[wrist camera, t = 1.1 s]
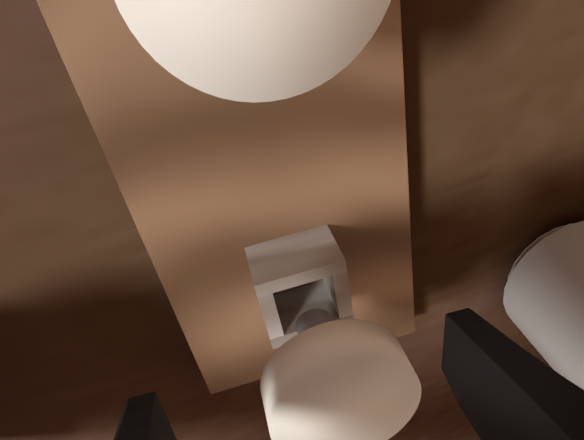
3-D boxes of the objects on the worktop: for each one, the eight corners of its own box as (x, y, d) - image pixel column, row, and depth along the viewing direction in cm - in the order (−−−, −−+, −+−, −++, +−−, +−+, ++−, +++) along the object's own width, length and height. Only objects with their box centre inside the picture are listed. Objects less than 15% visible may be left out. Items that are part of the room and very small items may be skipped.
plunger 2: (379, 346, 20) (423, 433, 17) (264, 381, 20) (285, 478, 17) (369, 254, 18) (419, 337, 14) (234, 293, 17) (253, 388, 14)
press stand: (403, 312, 27) (437, 368, 24) (208, 371, 26) (215, 438, 23) (357, -418, 12) (430, -534, 9) (-98, -343, 11) (-204, -444, 8)
